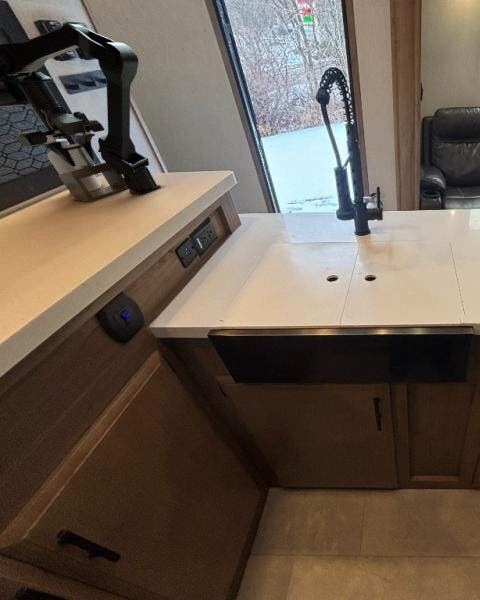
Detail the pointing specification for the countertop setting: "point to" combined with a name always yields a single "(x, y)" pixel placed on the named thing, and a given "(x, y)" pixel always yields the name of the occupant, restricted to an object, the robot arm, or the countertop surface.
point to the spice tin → (79, 156)
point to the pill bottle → (71, 168)
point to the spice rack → (74, 177)
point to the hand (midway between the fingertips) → (83, 163)
